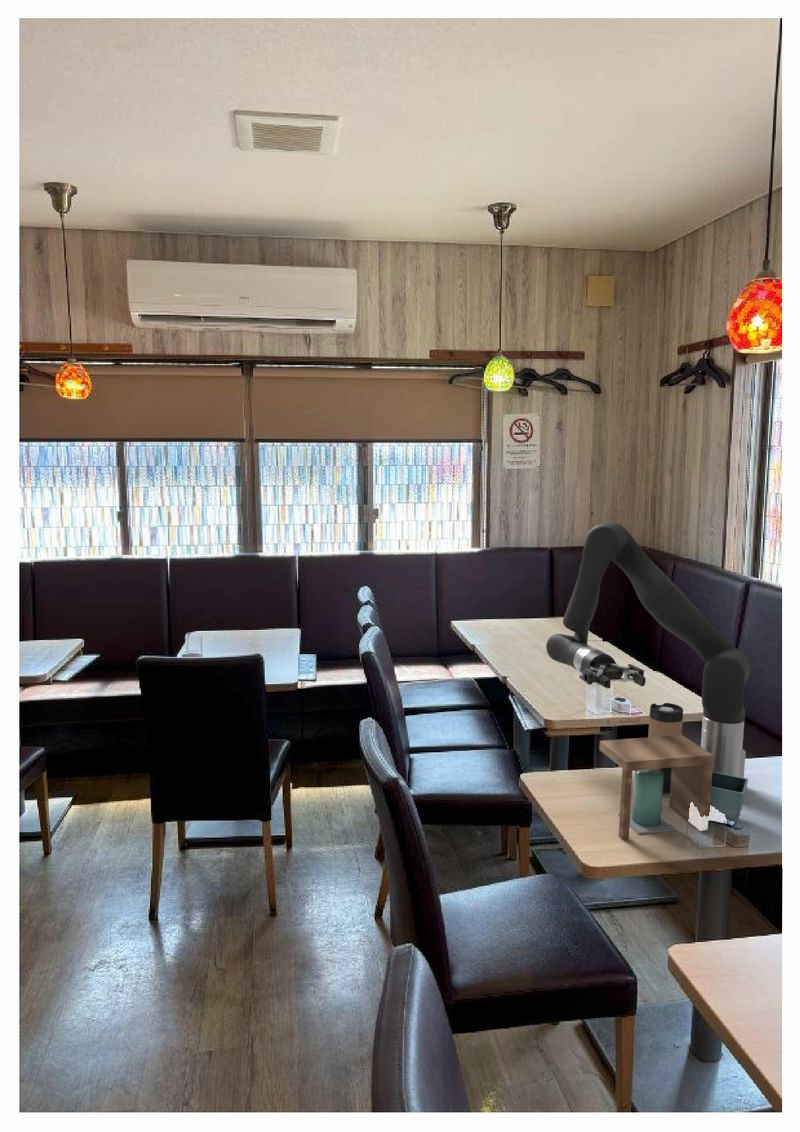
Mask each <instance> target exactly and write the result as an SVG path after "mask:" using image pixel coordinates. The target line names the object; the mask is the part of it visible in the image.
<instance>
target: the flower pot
mask: <svg viewBox="0 0 800 1132" xmlns="http://www.w3.org/2000/svg"><path fill="white" fill-rule="evenodd" d="M748 783H749V779H748V778H745V777H744V778H742V777H737V776H731V775H726V774H722V773H717V772H712V783H711V798H710V805H711V806H713V807H715V809H717V810H719V812H721V813H723V814H725V817H726V819H727V820H729V821H733V822H736V823H737V821H738V820H739V818H740V815H741V812H742V809H743V806H744V802H745V798H746V793H747V788H748Z"/></svg>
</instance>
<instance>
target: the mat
mask: <svg viewBox="0 0 800 1132" xmlns="http://www.w3.org/2000/svg"><path fill="white" fill-rule="evenodd" d="M632 812H633V811H630V827H629V828H631V829H632V830H633V831H634V830H635V831H634V832H635V833H636V832H637V833H638V834H637V833H636V834H637V835H642V834H643V835H644V834H646V835H647V834H653V833H655V834H656V833H665V832H672V831H673V832H674V831H678V828H677V827H676V826H674V825H673V824H672V823H671V822H670V821H669V820H667V819H666V817H664V816H663V815H661V824H660V825H658V826H643V825H640V824H637V823H635V822H634V821H633V820H632ZM617 816H618V817H619V818H620V812H618V813H617Z"/></svg>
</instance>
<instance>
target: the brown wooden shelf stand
mask: <svg viewBox="0 0 800 1132" xmlns="http://www.w3.org/2000/svg"><path fill="white" fill-rule="evenodd" d="M598 746H599V751H600V752H601V753H603V754H604V755H605V756H606V757H607V758H609V759H610V760H611V761H613V762H614V763H615V764H617V766H619V767H620V768H621V769H622V770H621V786H620V788H621V789H620V804H619V805H620V807H619V813H620V817H619V822H618V823H619V825H618V827H619V828H618V837H619V838H620V840H623V841H624V840H629V839H630V828H631V827H630V812H631V808H632V807H631V806H632V805H631V803H632V788H633V772H635V771H636V770H648V769H660V768H672V771H671V787H670V793H669V805H668V806H669V808H670V809H671V810H673V812H675V813H676V814H677V815H678V816H679V817H681V818H683V819H684V820H685V821H686V822H687V823H688V819H689V808H690V803H691V802H693V804H694V806H695V807H697V809H698V811H699V813H700V816H701V817H703V816H704V815H705V816H706V817H707V816H709V812H710V798H711V783H712V769H713V754H711V753H710V752H708V751H706V750H705V749H703V748H702V747H701V745H699V744H697V743H695V742H694V741H692V740H691V739H689V738H687V737H686V736H684V735H683V734H682V735H673V736H660V737H648V736H647V737H637V738H636V737H635V738H622V739H621V738H620V739H610V740H609V739H607V740H600V741H599V745H598Z"/></svg>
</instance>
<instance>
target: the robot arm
mask: <svg viewBox="0 0 800 1132" xmlns="http://www.w3.org/2000/svg"><path fill="white" fill-rule="evenodd" d="M611 561H612V562H613V563H615V565H617V567H618V568H620V570H621V571H622V572H624V574H625V575H626V576H627V578H628V579H629V581H630V583H631V584H632V587H633V589H634V591H635V593H636V595H637V598H638V599H639V602H640V603H641V604H642V606H643V607H644V609H645V610H647V612H648V613H649V615H651V616H652V618H653V619H654V620H655V621H656V622H657V623H658V624H659V625H660V626H661V627H662V628H664V629H665V630H666V631H668V632H669V633H671V634H672V635H674V636H675V637H677V638H678V639H680V640H681V641H683V642H685V643H686V644H687V645H688V646H689V647H690V648H691V649H692V650H694V651H695V652H696V654H697V655H698V656H699V657H700V659H701V660H702V661H703V662H704V663H705V665H704V666H703V667H704V668H703V673H702V687H701V706H702V722H701V724H702V725H701V740H700V747H702V748H703V749H705V750H706V751H708V752H710V753H711V754H713V769H712V772H717V773H722V774H726V775H731V776H737V777H742V778H745V768H746V767H745V765H746V755H747V753H746V750H745V749H743V743H744V729H745V728H744V727H745V717H746V710H745V707H744V694H745V683H746V682H747V681H748V679H749V678H750V675H751V665H750V662H749V659H747V657H746V655H744V654H743V653H742V652H741V651H740V650H739V649H738V648H737V647H735V646H734V645H733V644H732V643H731V642H730V641H728V640H727V638H725V637H724V636H723V635H722V634H721V633H720V632H719V631H718V630H716V629H715V627H713V625H711V623H710V621H708V619H707V618H706V617H705V616H704V615H703V614H702V612H700V610H698V607H696V606H695V605H694V604H693V603H692V601H690V599H689V598H688V596H686V594H685V593H683V591H682V590H681V589H680V588H679V587H678V586H677V584H675V583H674V582H673V581H672V580H671V579H670V578H669V577H668V576H667V575H666V574H665V573H664V571H663V570H662V569H660V568H659V567H658V565H657V564H656V563H654V562H653V561H652V560H651V559H650V557H649V556H647V554H646V553H645V552H644V550H643V549H642V547H640V545H639V544H638V542H637V541H636V540H635V539H634V537H633V536H632V534H631V533H630V532H629V530H627V528H626V527H625V526H623V525H622V524H620V523H618V522H614V521H613V522H612V521H608V522H604V523H600V524H597V525H595V526H594V527H593V526H592V528H591V529H590V530H589V531H588V533H587V534H586V537H585V542H584V546H583V550H582V558H581V562H580V565H579V566H580V567H579V570H578V575H577V577H576V582H575V585H574V588H573V592H572V595H571V597H570V600H569V602H568V604H567V608H566V609H565V610H566V611H565V612H564V615H563V619H562V624H563V626H564V627H565V628H566V629H568V630H569V631H571V632H573V633H574V635H568V634H562V633H555V634H552V635H551V636H549V638H548V639H547V642H546V647H545V648H546V653H547V654H548V657H549V658H551V660H553V661H555V662H558V663H560V664H563V665H566V666H569V667H571V668H573V669H574V670H576V671H578V672H579V679H580V680H581V681H584V683H586V684H587V685H593V683H594V684H595V685H597V686H599V685H600V686H602V687H603V688H605V689H611V681H612V682H621V683H629V682H632V683H634V684H636V685H638V686H639V687H645V685H646V677H645V675H644V674H645V670H644V669H642V668H640V667H638V666H636V665H633V664H631V663H629V664H627V667H626V666H623V665H619V664H618V663H616V660H615V659H614V657H612V656H611V655H609V654H608V653H606V652H604V651H602V650H600V649H599V648H596V647H593V646H591V645H589V644H588V642H589V639H588V638H589V631H590V626H591V623H592V622H593V621H592V620H593V619H594V616H595V613H596V610H597V607H598V602H599V596H600V595H599V594H600V590H601V589H600V588H601V583H602V579H603V576H604V574H605V572H606V570H607V568H608V566H609V564H610V562H611ZM623 677H624V678H623Z"/></svg>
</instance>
